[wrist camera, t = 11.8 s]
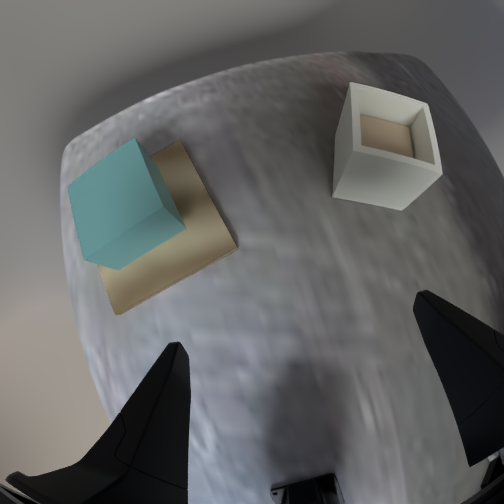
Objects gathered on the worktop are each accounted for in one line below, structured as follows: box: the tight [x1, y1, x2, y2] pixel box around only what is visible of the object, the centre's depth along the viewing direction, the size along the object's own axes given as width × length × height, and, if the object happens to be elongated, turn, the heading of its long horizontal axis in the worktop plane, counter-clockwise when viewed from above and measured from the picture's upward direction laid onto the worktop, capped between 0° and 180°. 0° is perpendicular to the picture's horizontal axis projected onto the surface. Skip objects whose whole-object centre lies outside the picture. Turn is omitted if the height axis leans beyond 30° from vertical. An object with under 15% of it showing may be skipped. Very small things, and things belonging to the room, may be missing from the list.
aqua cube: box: [68, 137, 187, 271], centre depth 21 cm, size 7×7×6 cm
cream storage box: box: [332, 82, 442, 211], centre depth 20 cm, size 7×7×8 cm
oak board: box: [97, 140, 238, 315], centre depth 25 cm, size 13×13×1 cm
